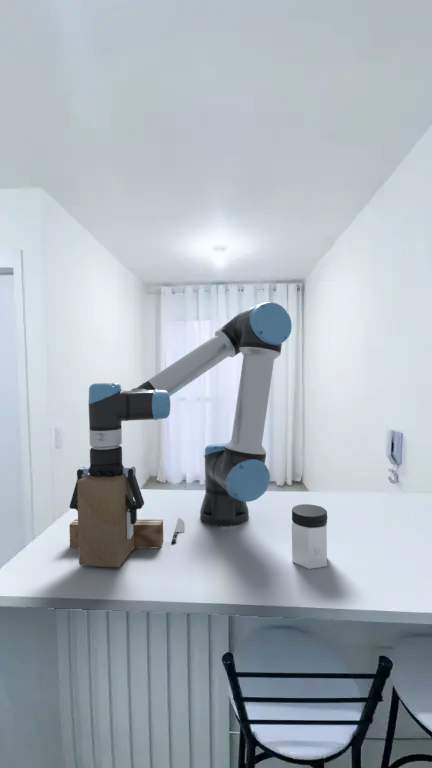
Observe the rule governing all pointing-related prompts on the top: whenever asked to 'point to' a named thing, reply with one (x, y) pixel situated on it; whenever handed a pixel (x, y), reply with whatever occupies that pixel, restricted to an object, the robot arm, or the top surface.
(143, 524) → the brown wooden bar
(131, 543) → the wooden block
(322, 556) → the jar
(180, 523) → the chef's knife
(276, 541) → the top surface
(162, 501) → the top surface
